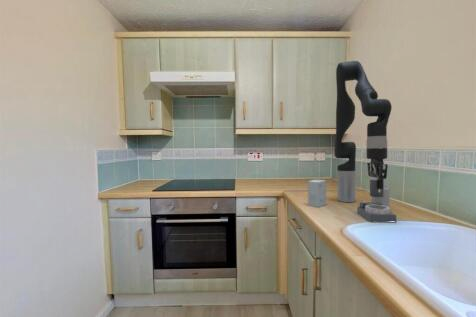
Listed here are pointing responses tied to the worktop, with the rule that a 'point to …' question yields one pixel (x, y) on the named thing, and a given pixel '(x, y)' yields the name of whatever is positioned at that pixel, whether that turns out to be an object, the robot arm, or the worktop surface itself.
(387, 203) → the can
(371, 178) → the lens
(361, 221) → the worktop surface
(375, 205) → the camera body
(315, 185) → the small box
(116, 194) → the worktop surface
